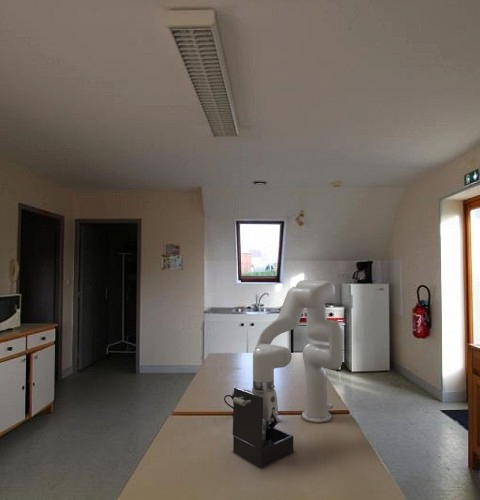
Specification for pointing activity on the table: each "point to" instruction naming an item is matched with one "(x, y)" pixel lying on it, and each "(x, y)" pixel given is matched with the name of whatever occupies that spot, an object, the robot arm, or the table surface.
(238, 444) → the dark grey storage bin
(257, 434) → the lid
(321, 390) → the robot arm
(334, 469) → the table surface
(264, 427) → the pill bottle
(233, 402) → the coffee mug
